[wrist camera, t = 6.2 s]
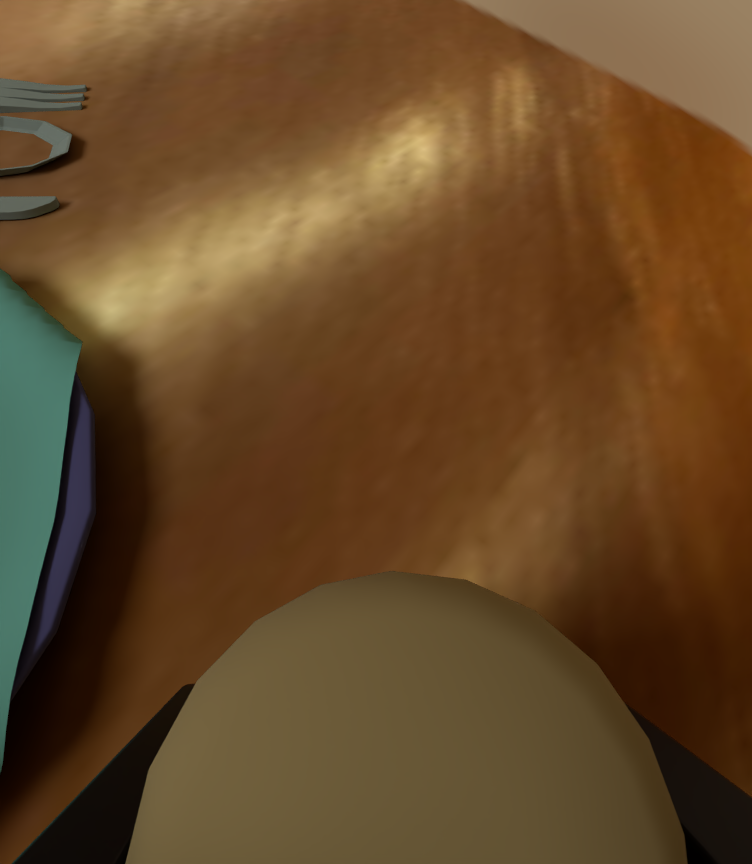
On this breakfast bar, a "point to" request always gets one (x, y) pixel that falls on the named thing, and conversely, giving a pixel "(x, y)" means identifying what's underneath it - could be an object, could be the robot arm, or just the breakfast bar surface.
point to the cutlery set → (38, 433)
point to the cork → (405, 741)
